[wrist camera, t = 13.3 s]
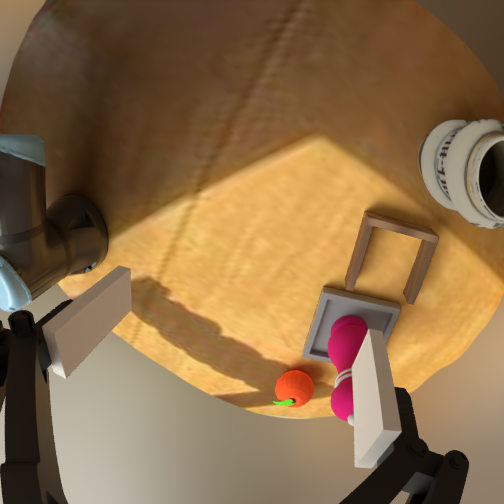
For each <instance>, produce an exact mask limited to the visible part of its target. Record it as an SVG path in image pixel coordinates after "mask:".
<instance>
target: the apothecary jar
mask: <svg viewBox="0 0 504 504" xmlns="http://www.w3.org/2000/svg"><path fill="white" fill-rule="evenodd" d="M418 168H419V171H420V174H421V176H422V178H423V180H424V182H425V184H426V187H427V189H428V190H429V192H430V193H431V195H432V196H433V197H434V198H435V200H436V201H437V202H439V203H440V204H441V205H443V206H444V207H446V208H448V209H450V210H453V211H458V212H459V213H460V214H461V215H462V216H463V217H464V218H465V219H466V220H467V221H468V222H470V223H472V224H473V225H476V226H478V227H481V228H486V229H496V228H501V227H504V123H503V122H501V121H499V120H495V119H490V118H483V119H478V120H475V121H472V122H471V121H468V120H463V119H453V120H448V121H445V122H443V123H441V124H440V125H438V126H437V127H436V128H435V129H434V130H433V131H432V132H431V133H430V134H429V136H425V137H424V139H423V140H422V142H421V144H420V147H419V150H418Z"/></svg>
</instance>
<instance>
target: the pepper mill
mask: <svg viewBox="0 0 504 504" xmlns="http://www.w3.org/2000/svg"><path fill="white" fill-rule="evenodd" d="M367 332H368V326H367V324H366V322H365V321H364V320H363V319H362V318H360V317H358V316H355V315H348V316H343V317H341V318H339V319H338V320H336V321H335V322H334V324H333V325H332V327H331V337H330V338H329V341H328V355H329V357H330V359H331V361H332V363H333V364H334V365H335V366H336V368H337V370H338V376H337V377H336V379H335V389H334V391H333V393H332V396H331V407H332V410H333V412H334V413H335V415H336V416H337V417H339V418H340V419H342V420H345V421H348V423H349V424H350V425H351V426H354V404H353V383H352V366H353V364H354V361H355V359H356V357H357V355H358V353H359V350H360V348H361V346H362V343H363V341H364V339H365V337H366V334H367Z"/></svg>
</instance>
